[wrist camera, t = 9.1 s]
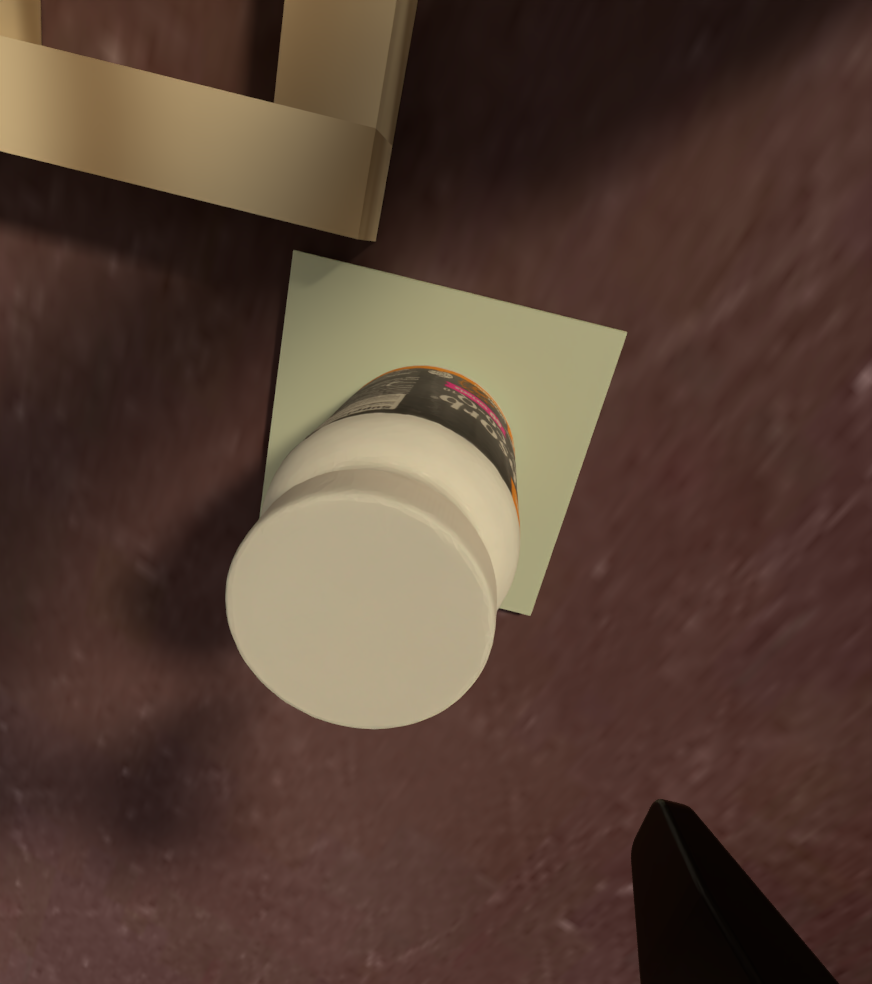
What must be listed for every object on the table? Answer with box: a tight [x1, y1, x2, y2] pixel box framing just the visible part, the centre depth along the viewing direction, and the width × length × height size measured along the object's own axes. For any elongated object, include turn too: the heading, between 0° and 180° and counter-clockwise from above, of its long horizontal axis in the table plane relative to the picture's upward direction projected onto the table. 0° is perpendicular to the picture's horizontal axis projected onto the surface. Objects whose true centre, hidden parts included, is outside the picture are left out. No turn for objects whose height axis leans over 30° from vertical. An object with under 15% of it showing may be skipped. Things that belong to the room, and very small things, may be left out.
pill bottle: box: [225, 365, 520, 729], centre depth 15 cm, size 6×6×10 cm
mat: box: [259, 250, 627, 616], centre depth 19 cm, size 10×10×1 cm
